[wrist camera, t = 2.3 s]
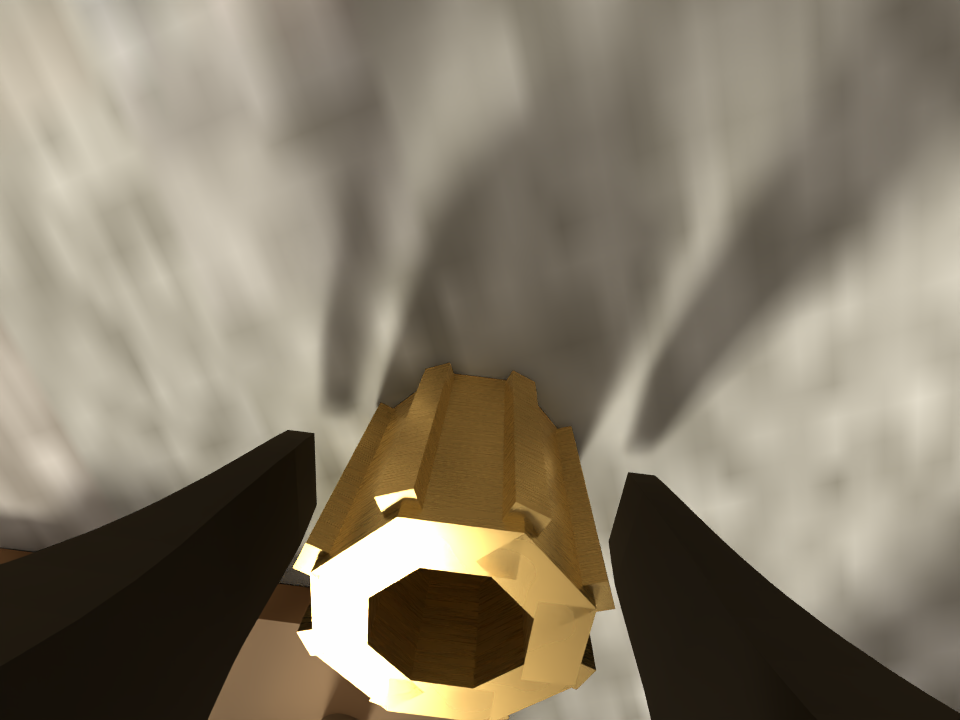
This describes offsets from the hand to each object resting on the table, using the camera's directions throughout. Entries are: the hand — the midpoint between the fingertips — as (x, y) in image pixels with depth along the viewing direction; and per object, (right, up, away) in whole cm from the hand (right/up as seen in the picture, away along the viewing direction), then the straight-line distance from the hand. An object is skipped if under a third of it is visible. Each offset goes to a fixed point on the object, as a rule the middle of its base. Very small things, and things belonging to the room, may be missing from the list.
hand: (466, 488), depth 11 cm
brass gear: (0, +1, +1) cm, 1 cm away
